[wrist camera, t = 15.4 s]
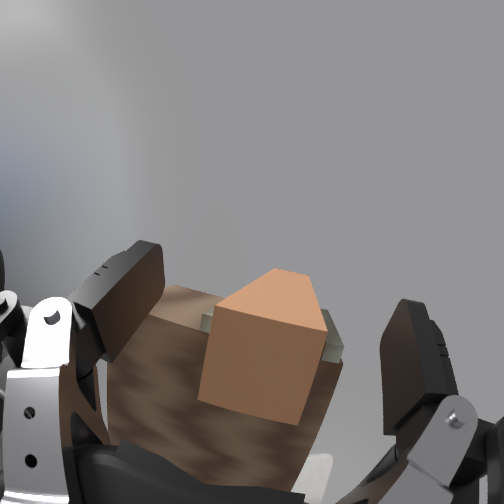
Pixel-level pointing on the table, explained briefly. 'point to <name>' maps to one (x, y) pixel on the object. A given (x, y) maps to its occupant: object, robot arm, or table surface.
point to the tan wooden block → (265, 348)
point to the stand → (201, 413)
